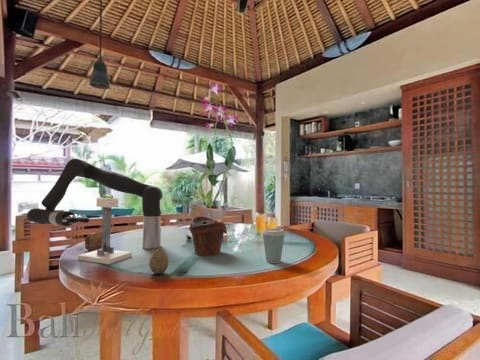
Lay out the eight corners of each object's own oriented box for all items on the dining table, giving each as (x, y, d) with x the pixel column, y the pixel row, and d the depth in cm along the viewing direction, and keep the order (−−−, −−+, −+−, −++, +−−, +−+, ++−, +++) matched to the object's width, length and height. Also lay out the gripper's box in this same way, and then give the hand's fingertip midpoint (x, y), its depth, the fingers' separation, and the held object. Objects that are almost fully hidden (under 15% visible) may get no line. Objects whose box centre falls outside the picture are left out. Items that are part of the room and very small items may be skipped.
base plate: (77, 259, 127) (78, 249, 127) (102, 252, 140) (102, 243, 140) (108, 264, 121) (108, 254, 121) (131, 256, 134) (131, 247, 134)
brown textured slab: (89, 252, 141) (89, 235, 141) (83, 252, 141) (83, 235, 141) (104, 245, 156) (104, 230, 156) (98, 245, 156) (99, 230, 156)
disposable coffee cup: (266, 265, 123) (266, 231, 124) (258, 258, 134) (258, 227, 134) (288, 264, 126) (288, 230, 126) (278, 257, 137) (279, 227, 137)
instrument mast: (94, 251, 130) (96, 194, 130) (103, 249, 134) (105, 194, 134) (108, 253, 127) (110, 195, 127) (116, 251, 132) (118, 195, 132)
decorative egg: (169, 271, 113) (170, 246, 113) (165, 277, 106) (166, 250, 106) (152, 270, 113) (152, 246, 113) (146, 276, 106) (147, 250, 106)
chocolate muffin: (222, 258, 133) (222, 220, 133) (182, 255, 137) (183, 219, 137) (230, 250, 150) (231, 216, 151) (195, 248, 154) (196, 215, 155)
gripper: (49, 211, 134) (75, 213, 129) (73, 209, 147) (99, 211, 141) (48, 227, 134) (75, 230, 128) (73, 223, 147) (98, 226, 141)
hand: (87, 220), depth 135 cm, fingers closed
